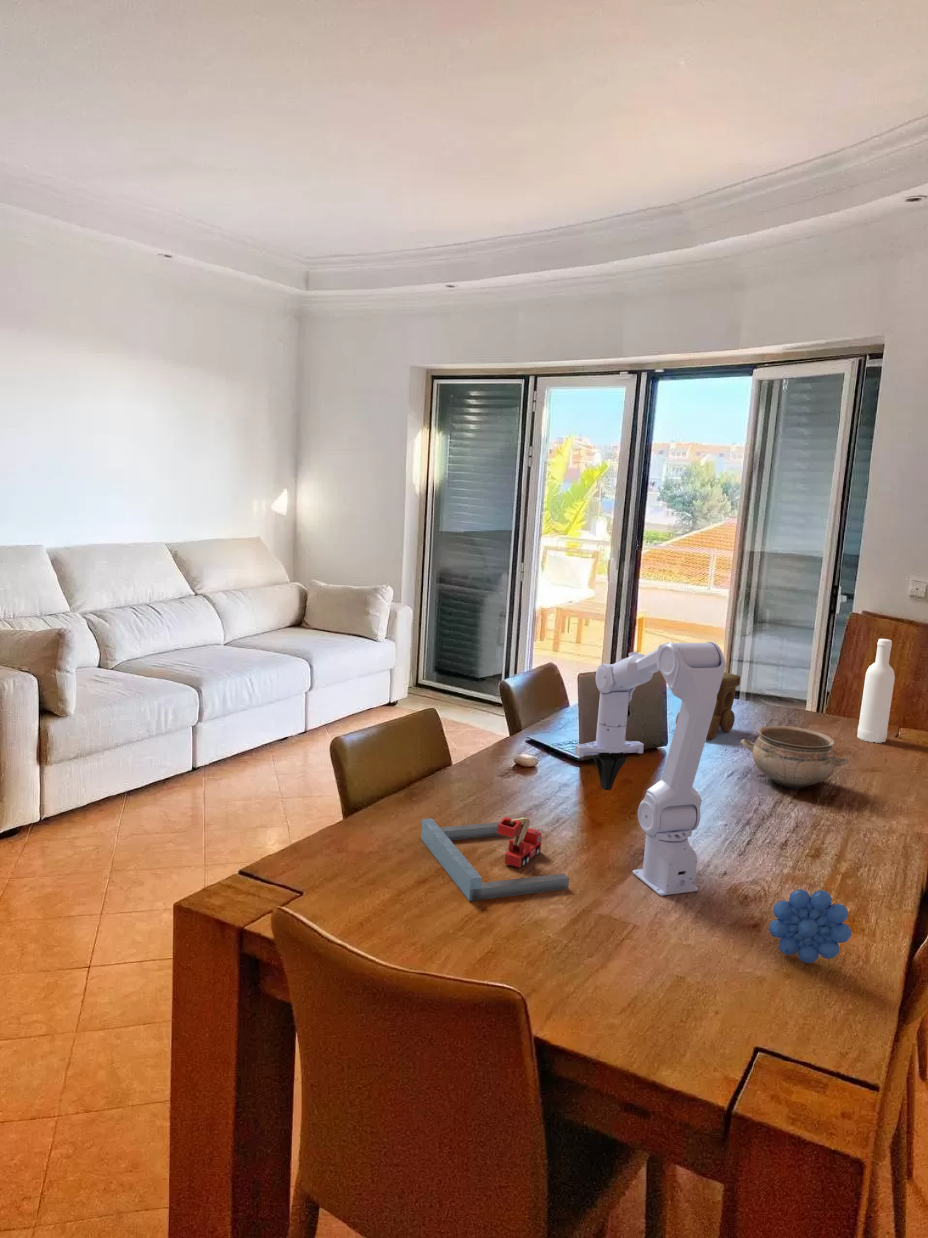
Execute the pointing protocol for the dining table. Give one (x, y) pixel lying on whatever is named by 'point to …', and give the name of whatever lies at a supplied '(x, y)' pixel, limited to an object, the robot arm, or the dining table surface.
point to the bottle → (877, 696)
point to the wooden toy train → (723, 706)
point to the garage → (465, 872)
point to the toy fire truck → (520, 840)
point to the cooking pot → (793, 755)
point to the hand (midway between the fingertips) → (605, 788)
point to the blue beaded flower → (810, 925)
